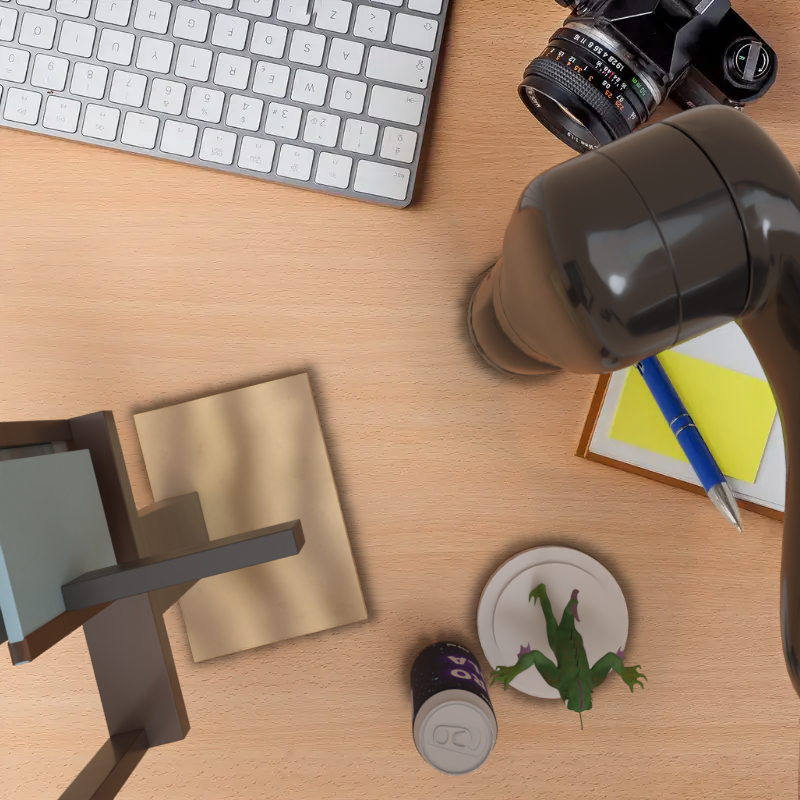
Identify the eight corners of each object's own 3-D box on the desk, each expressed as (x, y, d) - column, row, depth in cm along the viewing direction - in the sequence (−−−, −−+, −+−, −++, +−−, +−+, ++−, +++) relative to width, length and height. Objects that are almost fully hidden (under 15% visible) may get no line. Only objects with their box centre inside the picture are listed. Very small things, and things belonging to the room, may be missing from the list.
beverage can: (476, 712, 62) (495, 786, 50) (406, 705, 62) (408, 777, 50) (484, 641, 62) (504, 699, 50) (413, 634, 62) (417, 690, 50)
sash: (282, 400, 41) (244, 398, 30) (317, 545, 41) (292, 596, 30) (76, 451, 41) (-37, 468, 30) (112, 597, 41) (12, 667, 30)
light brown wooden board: (308, 372, 62) (306, 372, 61) (368, 614, 62) (367, 619, 61) (137, 414, 62) (132, 415, 60) (197, 658, 62) (194, 663, 60)
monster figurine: (476, 694, 62) (493, 752, 52) (477, 544, 62) (494, 572, 52) (624, 694, 62) (671, 751, 52) (625, 545, 62) (672, 573, 52)
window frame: (184, 408, 61) (-73, 412, 27) (242, 644, 60) (59, 945, 27) (134, 421, 60) (-186, 440, 27) (192, 656, 60) (-55, 975, 27)
